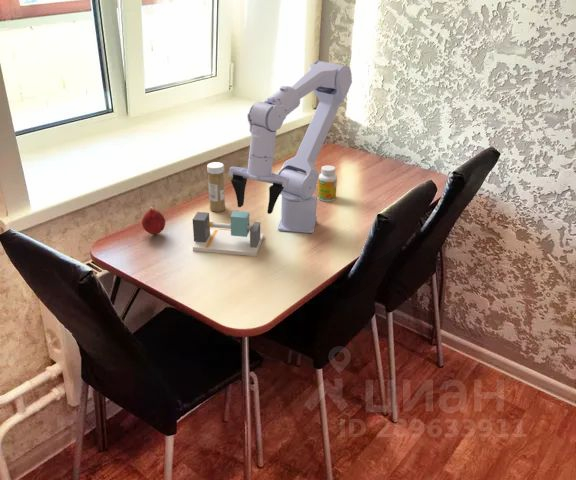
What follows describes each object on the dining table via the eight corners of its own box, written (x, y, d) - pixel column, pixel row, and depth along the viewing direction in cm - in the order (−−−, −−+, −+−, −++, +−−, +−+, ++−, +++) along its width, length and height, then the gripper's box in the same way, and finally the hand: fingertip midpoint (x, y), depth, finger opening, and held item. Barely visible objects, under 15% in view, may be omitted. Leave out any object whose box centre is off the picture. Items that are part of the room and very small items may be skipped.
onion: (170, 231, 152) (167, 204, 148) (159, 242, 147) (156, 213, 143) (150, 228, 153) (148, 200, 149) (139, 238, 148) (135, 210, 144)
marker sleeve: (249, 230, 146) (249, 212, 143) (246, 236, 143) (246, 217, 140) (234, 229, 146) (233, 210, 144) (231, 235, 144) (230, 216, 141)
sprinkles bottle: (228, 210, 164) (226, 165, 157) (213, 213, 161) (211, 168, 155) (220, 204, 167) (219, 160, 160) (206, 207, 165) (204, 163, 158)
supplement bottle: (315, 200, 170) (316, 169, 166) (320, 193, 175) (322, 163, 170) (332, 203, 169) (334, 172, 164) (337, 196, 173) (340, 166, 168)
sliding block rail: (263, 237, 150) (263, 212, 147) (256, 256, 141) (255, 230, 138) (202, 231, 152) (200, 206, 148) (191, 250, 143) (189, 224, 140)
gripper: (226, 152, 133) (221, 207, 138) (285, 164, 130) (278, 220, 135) (237, 146, 140) (232, 200, 145) (294, 158, 137) (287, 211, 141)
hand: (255, 209), depth 140 cm, fingers open, 7 cm apart
